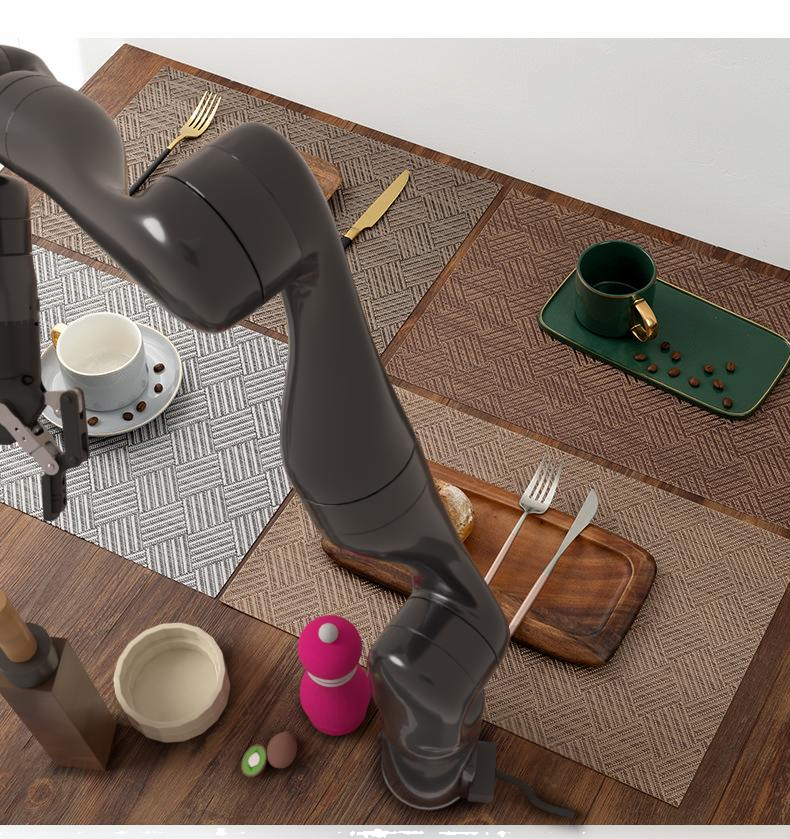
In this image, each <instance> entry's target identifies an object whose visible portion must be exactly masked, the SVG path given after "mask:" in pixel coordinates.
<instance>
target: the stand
mask: <svg viewBox="0 0 790 839" xmlns="http://www.w3.org/2000/svg"><path fill="white" fill-rule="evenodd" d="M50 637H51V639H52V641H53V642H54V644H55V646H56V647H57V649H58V653H59V662H58V666H57V668H56V670H55V672H54V674H53V675H52V676H51V677H50V678H49V679H48V680H47V681H46V682H44V683H43V684H41V685H39V686H36V687H32V688H20V687H17V686H14V685H13V684H11V683H10V682H9V681H8V680H7V679H6V677H5V676H4V675H3V673H2V672H1V671H0V695H1V696H2V698H3V699H4V700H5V702H6V703H7V704H8V705H9V707H10V708H11V709H12V710H13V712H14V713H15V714H16V716H17V717H18V718H19V719H20V720H21V722H22V723H23V724H24V726H25V727H26V728H27V730H28V731H29V732H30V733H31V734H32V736H33V737H34V738H35V739H36V741H37V742H38V743H39V745H40V746H41V747H42V748H43V749H44V751H45V752H46V753H47V755H48V756H49V757H50V758H51V760H52V761H53V762H54V764H55V765H56V766H57V767H64V768H73V769H83V770H84V769H85V770H93V771H102V772H105V771H106V770H107V766H108V761H109V756H110V755H111V754H110V753H111V749H112V745H113V741H114V738H115V733H116V728H117V726H118V722H117V721H116V719H115V718H114V716H113V714H112V713H111V711H110V709H109V707H108V705H107V704H106V702H105V700H104V698H103V697H102V695H101V694H100V692H99V690H98V689H97V687H96V685H95V684H94V682H93V680H92V678H91V677H90V675H89V673H88V672H87V670H86V668H85V667H84V665H83V663H82V662H81V660H80V658H79V656H78V655H77V653H76V651H75V650H74V648H73V646H72V644H71V643H70V641H69V639H68V638H67V637H59V636H50Z"/></svg>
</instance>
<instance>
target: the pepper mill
mask: <svg viewBox="0 0 790 839" xmlns="http://www.w3.org/2000/svg"><path fill="white" fill-rule="evenodd" d="M297 653H298V654H297V655H298V658H299V661H300V664H301V666H302V667H303V668H304V669H305V672H304V674H303V676H302V679H301V681H300V686H299V699H300V704H301V707H302V709H303V711H304V713H305V714H306V715H307V717H308V719H309V720H310V722H311V724H312V725H313V726H314V728H315V729H316V730H318V731H319V732H321V733H322V734H324V735H328V736H333V737H338V736H343V735H347V734H350V733H352V732H353V731H355V730H356V729H357V728H359V727H360V726H361V724H362V722H363V721H364V719H365V718H366V714H367V710H368V707H369V704H370V702H371V696H372V692H371V686H370V681H369V676H368V673H367V672H366V671H365V669H364V668H363V667H362V665H360V664H359V662H360V660H361V657H362V655H363V654H362V653H363V643H362V638H361V635H360V632H359V631H358V628H357V627H356V626H355V625H354V623H352V622H351V621H349V620H348V619H346V618H345V617H342V616H340V615H334V614H326V615H321V616H318V617H316V618H314V619H312V620H311V621H309V623H308V624H306V625H305V626H304V628H303V629H302V631H301V632H300V635H299V638H298V643H297Z"/></svg>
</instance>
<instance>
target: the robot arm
mask: <svg viewBox="0 0 790 839" xmlns="http://www.w3.org/2000/svg"><path fill="white" fill-rule="evenodd" d="M127 160H128V159H127V152H126V147H125V143H124V140H123V136H122V134H121V132H120V129H119V128H118V126H117V124H116V123H115V121H114V120H113V118H112V117H111V115H110V114H109V113H108V112H107V111H106V110H105V109H104V108H103V107H102V106H101V105H100V104H99V103H97V102H96V101H95V100H93V99H92V98H90V97H89V96H87V95H86V94H84V93H82V92H80V91H78V90H76V89H75V88H72V87H71V86H69V85H67V84H65V83H63V82H62V81H59V80H58V79H57V77H56V76H55V75H54V73H53V72H52V71H51V69H50V68H49V67H48V65H47V64H46V63H45V61H44V60H43V58H41V57H40V56H38V55H37V54H35V53H34V52H31V51H28V50H26V49H24V48H20V47H17V46H12V45H7V44H0V165H2V167H5V168H6V169H7V170H9V171H11V172H12V173H14V174H15V175H16V176H18V177H19V178H18V177H16V176H13V175H9V174H6V173H2V172H0V446H11V445H13V444H15V443H18V445H19V446H20V447H21V448H22V450H23V451H24V452H25V453H26V454H28V455H29V456H31V457H32V458H33V459H34V460H35V462H36V463H37V464H38V465H39V467H40V468H41V469H42V470H43V471H44V474H42V475H41V477H40V478H41V480H40V481H41V495H42V496H41V500H42V518H43V519H42V520H43V521H44V522H54V521H55V520H57V519H58V518H59V517H60V515H61V513H63V512H64V511H65V510H66V507H67V504H68V491H67V490H68V489H67V488H68V487H67V471H68V470H70V469H74V468H75V469H76V468H79V467H80V466H81V465H82V464H83V463H84V462H86V461H87V460H89V458H90V456H91V450H90V449H91V448H90V440H89V439H90V438H89V427H88V419H87V409H86V400H85V392H84V390H83V389H82V388H81V387H78V386H74V387H71V388H69V389H67V390H66V389H65V390H47V388H46V386H45V385H44V383H43V380H42V352H41V335H40V334H41V333H40V332H41V330H40V329H41V328H40V310H41V300H40V297H39V288H38V287H39V286H38V279H37V273H36V268H35V262H34V254H33V236H32V235H33V231H32V229H33V228H32V212H31V198H30V192H29V188H28V187H27V184H25V182H24V181H26V182H27V183H29V185H32V186H34V187H35V188H36V189H38V190H39V191H40V192H42V193H43V194H44V195H46V197H49V199H50V200H52V201H53V202H54V203H55V204H56V205H57V206H59V207H60V209H61V210H63V212H64V213H65V214H66V215H67V216H68V217H69V218H70V219H71V220H72V221H73V222H74V224H76V225H77V227H78V228H80V230H81V231H82V232H83V233H84V234H85V235H86V236H87V237H88V238H89V239H90V240H91V241H92V243H94V244H95V245H96V246H97V247H98V249H100V250H101V251H102V252H103V253H104V254H105V255H106V256H107V257H108V258H109V259H110V260H111V261H112V262H113V263H114V264H115V265H116V266H117V267H118V268H119V269H120V270H121V271H122V272H124V274H125V275H126V276H127V277H129V279H130V280H132V281H133V282H134V283H135V284H136V285H137V286H138V287H139V288H140V289H141V290H142V291H143V292H144V293H145V294H146V296H148V297H149V298H150V299H151V300H152V301H154V303H156V305H158V306H159V307H160V308H161V309H162V310H164V311H165V312H166V313H168V315H170V316H171V317H173V318H174V319H175V320H177V321H179V322H180V323H182V324H183V325H185V326H186V327H187V328H190V329H192V330H195V331H196V332H198V333H202V334H207V335H218V334H223V333H225V332H227V331H229V330H231V329H232V328H234V327H236V326H238V325H239V324H241V323H242V322H244V321H246V320H247V319H248V318H249V317H251V316H252V315H253V314H255V313H256V312H257V311H259V310H260V309H261V308H262V307H264V306H265V305H266V304H267V303H269V302H270V301H271V300H272V299H273V298H275V297H276V296H277V295H279V297H280V300H281V303H282V306H283V311H284V316H285V321H286V330H287V358H286V368H285V374H284V375H285V376H284V383H283V389H282V396H281V397H282V398H281V405H280V406H281V407H280V418H279V419H280V420H279V451H280V452H279V453H280V457H281V463H282V466H283V469H284V470H283V471H284V473H285V475H286V476H287V479H288V481H289V483H290V485H291V486H292V488H293V490H294V491H295V494H296V495H297V497H298V499H299V501H300V502H301V504H302V506H303V508H304V510H305V511H306V513H307V515H308V517H309V519H310V520H311V522H312V524H313V525H314V527H315V528H316V530H317V531H318V533H319V534H320V535H321V536H322V537H323V539H325V540H326V541H327V542H329V543H330V544H331V545H332V546H334V547H336V548H337V549H340V550H342V551H343V552H345V553H348V554H351V555H354V556H356V557H360V558H364V559H368V560H371V561H376V562H381V563H387V564H390V565H391V564H392V565H397V566H401V567H404V568H406V569H407V571H408V573H409V575H410V578H411V582H412V588H411V593H410V595H409V596H408V598H407V599H406V600H405V601H404V602H403V604H402V605H401V607H400V608H399V609H398V610H397V612H396V613H395V614H394V615H393V617H392V618H391V620H390V621H389V622H388V624H387V625H386V626H385V627H384V629H383V630H382V631H381V633H380V634H379V636H378V637H377V638H376V639H375V641H374V642H373V643H372V645H371V646H370V648H369V650H368V654H367V658H366V671H367V676H368V679H369V683H370V687H371V696H372V698H373V702H374V703H375V705H376V707H377V709H378V710H379V712H380V715H381V716H380V717H381V718H380V719H381V730H380V731H379V733H378V739H379V740H380V739H381V759H380V760H381V761H380V762H381V773H382V777H383V780H384V783H385V785H386V788H388V791H390V793H391V794H392V796H394V797H395V798H396V799H397V801H399V802H401V803H402V804H404V805H405V806H407V807H409V808H411V809H415V810H417V811H422V812H423V811H424V812H433V811H439V810H443V809H447V807H450V806H452V805H453V804H455V803H456V802H458V801H459V800H461V799H465V800H467V802H472V803H482V804H493V802H494V797H495V783H496V779H497V780H500V781H503V782H505V783H507V784H511V785H512V786H515V787H517V788H518V789H519V790H521V791H523V793H524V794H525V796H526V798H527V799H528V802H530V803H531V804H532V805H533V806H535V807H536V808H538V809H540V810H542V811H545V812H547V813H550V814H554V815H558V816H562V817H565V818H569V819H572V820H574V819H575V818H574V817H575V815H576V811H575V810H572V809H569V808H565V807H561V806H557V805H553V804H551V803H547V802H545V801H543V800H541V799H540V798H538V797H537V796H536V794H535V792H534V790H533V788H532V787H531V786H530V785H529V784H528V783H526V782H525V781H523V780H521V779H520V778H518V777H515V776H513V775H510V774H508V773H505V772H503V771H500V770H498V769H496V762H497V761H496V760H497V744H498V743H497V742H495V741H493V742H492V741H483V740H480V734H481V729H482V725H483V724H482V723H483V719H484V715H485V714H484V713H485V709H486V708H485V707H486V691H485V687H486V686H487V684H488V683H489V682H490V680H491V679H492V677H493V675H494V674H495V672H496V671H497V670H498V669H499V667H500V665H501V664H502V662H503V661H504V659H505V657H506V655H507V653H508V651H509V647H510V644H511V639H512V637H511V636H512V634H511V629H510V625H509V623H508V622H509V621H508V619H507V617H506V615H505V612H504V611H503V609H502V607H501V604H500V603H499V601H498V600H497V597H496V596H495V594H494V592H493V591H492V590H491V587H490V586H489V584H488V583H487V581H486V579H485V578H484V576H483V574H482V572H481V571H480V570H479V568H478V567H477V565H476V563H475V562H474V560H473V558H472V556H471V554H470V553H469V550H468V549H467V547H466V546H465V544H464V541H463V539H462V537H461V536H460V533H459V531H458V530H457V528H456V525H455V524H454V522H453V519H452V518H451V515H450V513H449V510H448V509H447V507H446V506H447V505H446V504H445V501H444V499H443V497H442V496H441V495H442V494H441V493H440V491H439V488H438V487H437V484H436V482H435V479H434V475H433V473H432V470H431V468H430V465H429V463H428V462H429V461H428V460H427V457H426V455H425V453H424V450H423V448H422V446H421V443H420V441H419V439H418V436H417V434H416V432H415V430H414V427H413V425H412V423H411V421H410V418H409V416H408V414H407V412H406V410H405V408H404V406H403V405H402V402H401V400H400V398H399V396H398V394H397V392H396V390H395V388H394V386H393V384H392V381H391V378H390V376H389V374H388V372H387V369H386V367H385V364H384V362H383V360H382V358H381V355H380V353H379V350H378V348H377V345H376V343H375V340H374V338H373V334H372V332H371V330H370V327H369V323H368V321H367V318H366V314H365V311H364V307H363V304H362V302H361V299H360V295H359V292H358V289H357V285H356V284H355V283H356V282H355V279H354V276H353V274H352V271H351V267H350V263H349V261H348V256H347V254H346V251H345V248H344V245H343V242H342V239H341V235H340V233H339V230H338V226H337V224H336V221H335V218H334V215H333V213H332V210H331V208H330V205H329V202H328V201H327V198H326V196H325V193H324V192H323V189H322V187H321V186H320V184H319V181H318V180H317V177H316V176H315V174H314V173H313V171H312V169H311V168H310V166H309V165H308V162H307V161H306V160H305V158H304V157H303V156H302V154H301V153H300V151H298V149H297V148H296V147H295V146H294V145H293V144H292V142H290V140H289V139H287V137H286V136H284V135H283V134H282V132H280V131H279V130H277V129H275V128H274V127H272V126H270V125H269V124H266V123H263V122H261V121H245V122H242V123H240V124H238V125H236V126H233V127H231V128H230V129H228V130H226V131H225V132H223V133H221V134H220V135H218V136H217V137H215V138H214V139H212V140H211V141H209V142H208V143H206V144H205V145H203V147H201V148H199V149H198V150H196V151H195V152H193V153H192V154H191V155H189V156H188V157H186V158H185V159H184V160H182V161H181V162H179V163H178V164H176V165H175V166H174V167H172V168H171V169H170V170H167V172H165V173H164V174H163V175H161V176H160V177H158V178H157V179H155V180H154V181H152V182H151V183H150V184H148V185H147V187H146V188H145V189H144V190H143V191H142V192H141V193H140V194H139V195H137V196H130V189H129V173H128V161H127ZM20 178H21V179H20ZM23 180H24V181H23ZM47 406H49V407H50V408H52V410H53V414H54V416H56V417H57V418H58V419H61V425H62V435H63V436H62V437H63V444H64V452H63V450H62V449H61V448H60V447H59V445H58V444H57V443H56V442H55V440H54V437H53V434H52V433H51V432H50V430H49V429H48V428H47V427H46V426H45V425H44V423H43V422H42V421H41V419H40V417H41V415H42V414H43V412H44V411H45V409H46V408H47Z"/></svg>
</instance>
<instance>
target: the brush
mask: <svg viewBox="0 0 790 839" xmlns="http://www.w3.org/2000/svg"><path fill="white" fill-rule="evenodd" d="M51 637H52V636H51V635H50V634H49V632H48V631H47V630H46V629H45V628H44V627H43V626H42V625H40V624H38V623H35V622H28V621H27V622H25V621H24V619H23V617H22V616H21V615H20V612H19V611H18V610H17V608H16V607H15V605H14V603H13V602H12V600H11V599H10V597H9V596H8V594H7V593H6V591H5V590H4V589H3V588H0V671H1V672H2V673H3V675H4V676H5V677H6V679H7V680H8V681H9V682H10V683H11V684H13V685H14V686H17V687H20V688H32V687H36V686H39V685H41V684H43V683H44V682H46V681H47V680H48V679H49V678H50V677H51V676H52V675H53V674H54V672H55V670H56V668H57V666H58V662H59V653H58V649H57V647H56V646H55V644H54V642H53V641H52V639H51Z"/></svg>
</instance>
